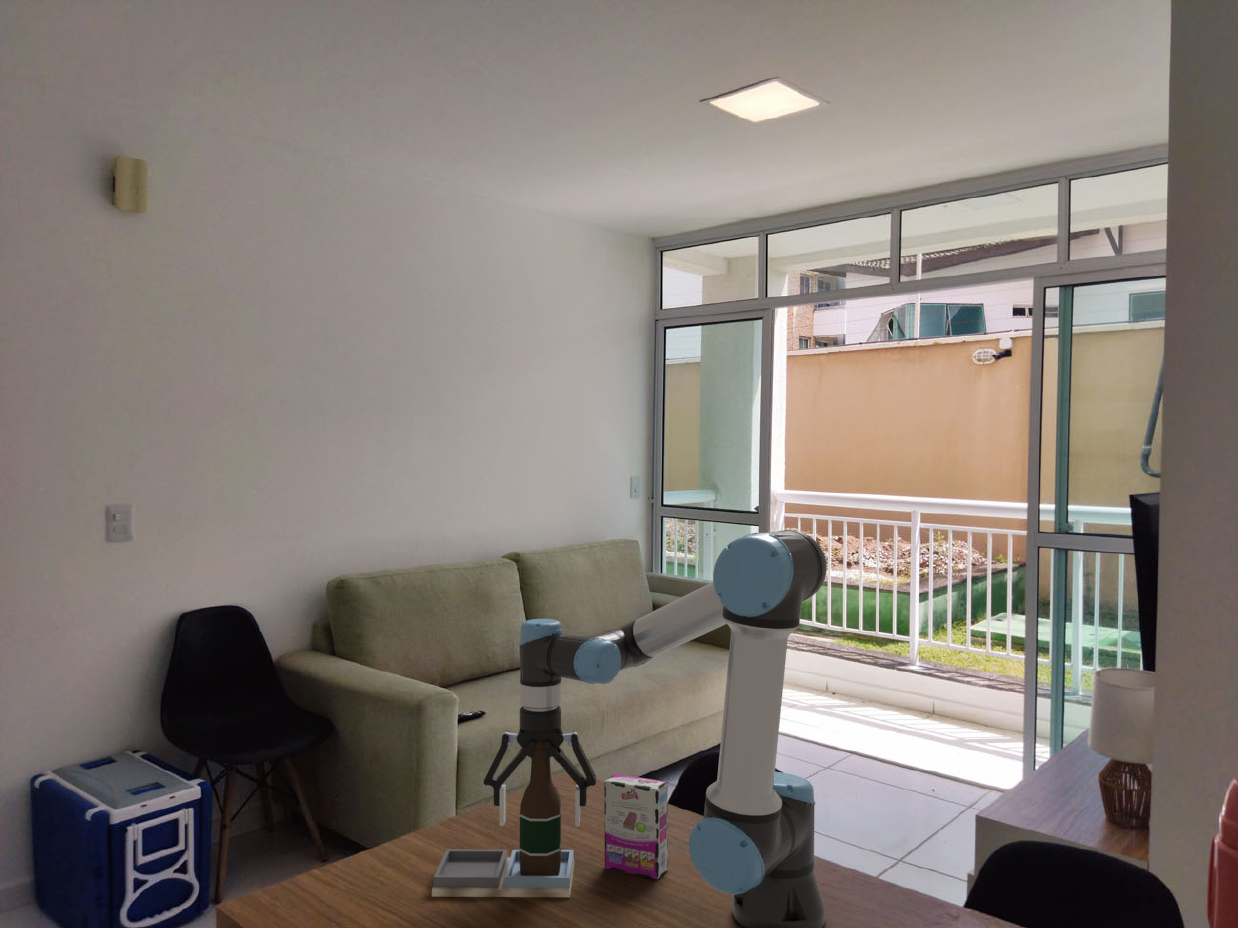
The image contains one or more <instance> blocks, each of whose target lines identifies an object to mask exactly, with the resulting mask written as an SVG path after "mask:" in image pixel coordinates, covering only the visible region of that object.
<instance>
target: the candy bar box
mask: <svg viewBox="0 0 1238 928" xmlns="http://www.w3.org/2000/svg"><path fill="white" fill-rule="evenodd" d="M603 783H604V784H603V786H604V787H603V788H604V790H603V791H604V792H603V793H604V802H603V803H604V868H605V869H606V870H611V871H616V872H621V873H624V874H629V875H635V876H638V877H639V876H640V877H644V878H649V879H654V880H659V879H660V878H661V877H662V876H663V875H664V874H666V872H667V871H668V869H669V856H668V855H669V854H668V853H669V851H668V849H669V846H668V845H669V841H668V837H669V835H668V834H669V833H668V832H669V831H668V830H669V829H668V824H669V823H668V804H669V803H668V781H664V780H658V779H652V778H646V777H645V778H644V777H639V776H631V775H624V774H618V773H614V774H613V775H611V776H610V777H609V778H607V779H605V780H604V782H603Z"/></svg>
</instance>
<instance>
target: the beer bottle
mask: <svg viewBox="0 0 1238 928" xmlns="http://www.w3.org/2000/svg"><path fill="white" fill-rule="evenodd" d="M543 743H544V741H536V746H535V747H534V748H535V750H534V757H533V759H531V763H530V764H531V766H530V778H529V783H528V784H527V786H526V788H525V789H524V791H523V792H524V793H523V796H522V799H521V802H520V806H519V850H520V874H521V876H558V875H559V872H560V867H561V850H562V803H561V802H562V801H561V800H562V799H561V796H560V793H559V790H558V789H557V787H556V785H555V784H554V783H553V779H552V772H551V757H550V758H549V759H547V756H546V749H545V748H544V746H543Z"/></svg>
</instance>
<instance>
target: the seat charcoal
mask: <svg viewBox="0 0 1238 928" xmlns="http://www.w3.org/2000/svg"><path fill="white" fill-rule="evenodd" d="M507 857H508V849H468V848H467V849H462V848H461V849H458V848H457V849H453V848H452V849H451V848H449V849H448V848H447V849H445V852H444V854H443V856H442V858H441V861H440V862H439V864H438V866H437V868H436V871H435V872H434V874H433V881H432V883H433V884H432V885H433V887H432V888H499V885H500V882H501V878H502V875H503V872H504V869H505V865H506V862H507Z"/></svg>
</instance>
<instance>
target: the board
mask: <svg viewBox="0 0 1238 928" xmlns="http://www.w3.org/2000/svg"><path fill="white" fill-rule="evenodd" d="M510 857H511V856H510ZM510 857H509V856H507V862H506V865H505V869H504V872H503V875H502V878H501V882H500V885H499V888H433V887H432V889H431V897H432V898H433V897H435V898H436V897H439V898H442V897H444V898H446V897H447V898H450V897H451V898H455V897H456V898H463V897H465V898H571V893H572V892H571V891H572V885H573V877H574V870H575V869H574V868H575V859H574V860H573V867H572V875H571V882H570V888H504V877H505V874H506V870H507V867H508V864H509V860H510Z"/></svg>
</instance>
